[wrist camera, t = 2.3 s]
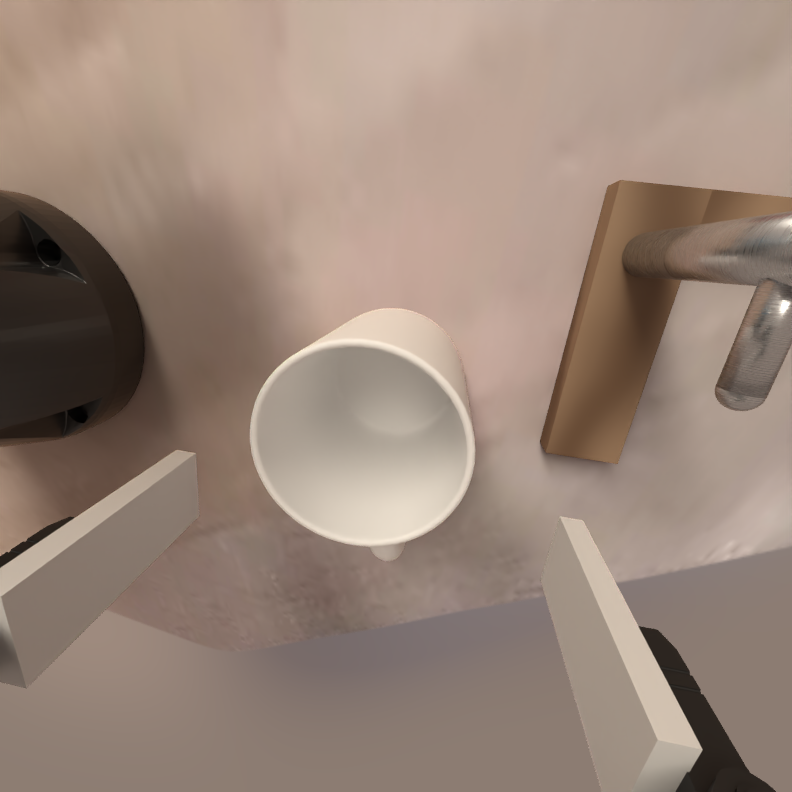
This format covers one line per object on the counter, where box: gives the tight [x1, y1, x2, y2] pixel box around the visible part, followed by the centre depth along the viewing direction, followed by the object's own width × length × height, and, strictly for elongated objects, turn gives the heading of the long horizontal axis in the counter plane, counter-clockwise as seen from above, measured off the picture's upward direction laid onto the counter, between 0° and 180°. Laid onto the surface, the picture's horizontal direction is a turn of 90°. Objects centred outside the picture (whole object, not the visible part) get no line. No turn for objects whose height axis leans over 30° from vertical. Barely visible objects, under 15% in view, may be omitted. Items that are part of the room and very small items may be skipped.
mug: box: [250, 308, 476, 561], centre depth 19 cm, size 12×8×10 cm
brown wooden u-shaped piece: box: [540, 180, 792, 464], centre depth 20 cm, size 17×14×2 cm
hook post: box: [622, 211, 792, 411], centre depth 15 cm, size 2×6×10 cm, turn 173°
